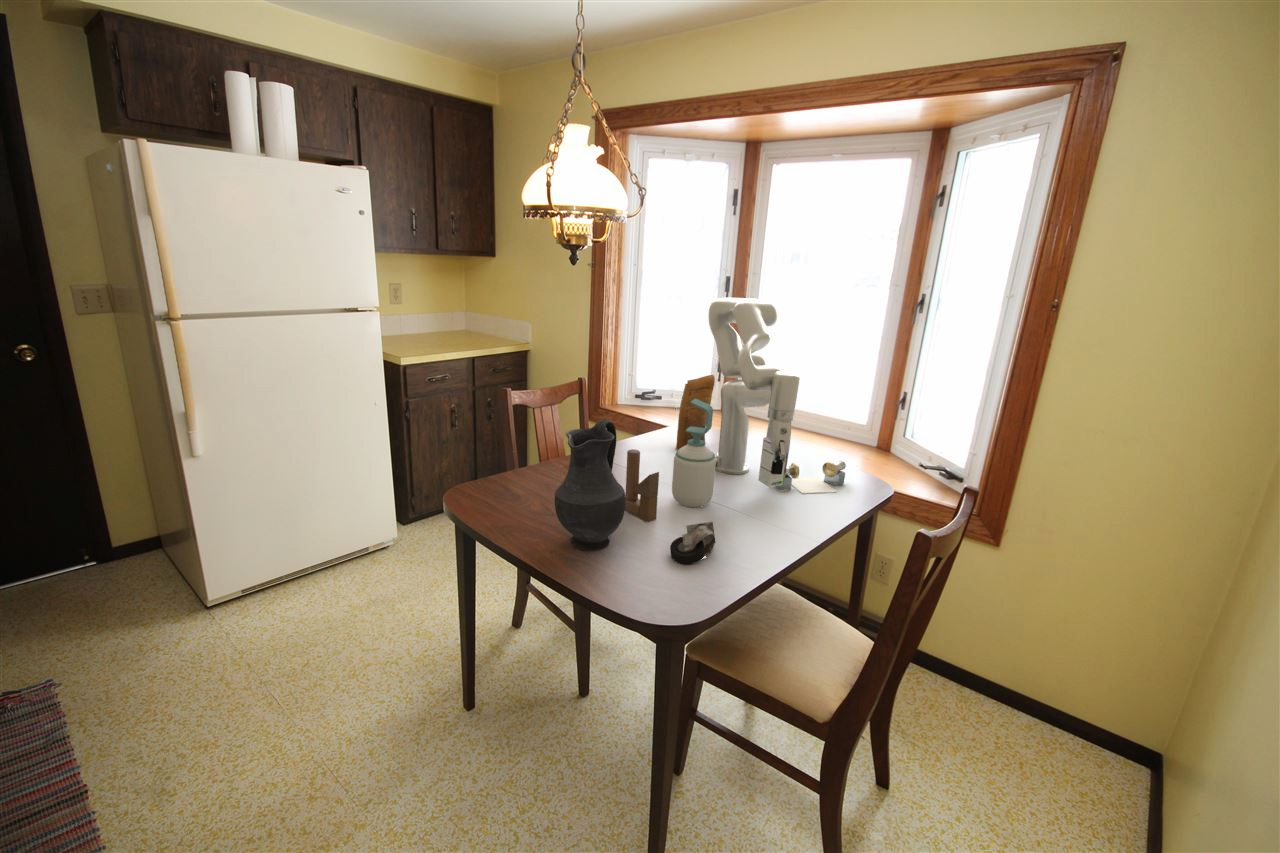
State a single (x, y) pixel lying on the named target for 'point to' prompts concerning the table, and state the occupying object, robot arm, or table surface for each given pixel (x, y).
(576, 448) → the pitcher
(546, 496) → the table surface
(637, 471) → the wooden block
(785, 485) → the shaft
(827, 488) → the mat
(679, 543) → the caster wheel
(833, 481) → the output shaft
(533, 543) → the table surface
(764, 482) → the syrup box
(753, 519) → the table surface
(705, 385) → the pancake mix bag
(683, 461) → the soap bottle
